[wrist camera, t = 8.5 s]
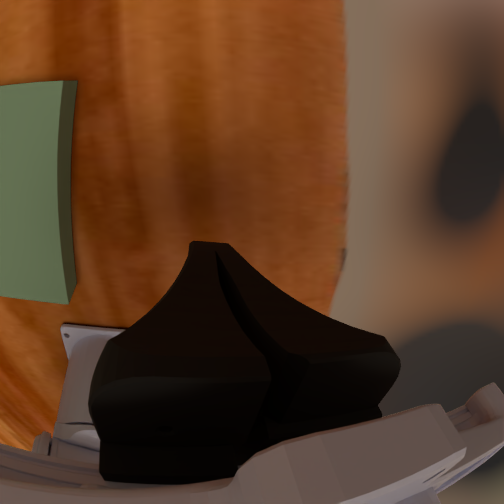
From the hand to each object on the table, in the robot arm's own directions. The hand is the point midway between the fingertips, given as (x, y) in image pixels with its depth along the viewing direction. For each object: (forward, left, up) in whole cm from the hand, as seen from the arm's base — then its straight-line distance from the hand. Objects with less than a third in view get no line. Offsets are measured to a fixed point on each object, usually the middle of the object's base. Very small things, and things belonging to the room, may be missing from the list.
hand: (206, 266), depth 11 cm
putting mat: (-1, +18, -9) cm, 20 cm away
